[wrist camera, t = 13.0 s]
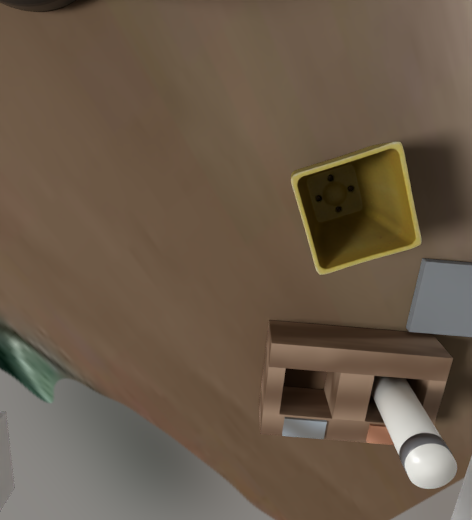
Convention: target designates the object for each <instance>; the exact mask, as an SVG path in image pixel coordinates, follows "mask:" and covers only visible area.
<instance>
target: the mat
mask: <svg viewBox="0 0 472 520" xmlns="http://www.w3.org/2000/svg"><path fill="white" fill-rule="evenodd" d="M406 328H407V329H408V331H409V332H417V333H429V334H441V335H453V336H465V337H472V263H470V262H458V261H447V260H435V259H423V258H422V262H421V267H420V271H419V275H418V279H417V283H416V288H415V292H414V296H413V300H412V304H411V309H410V313H409V317H408V321H407V326H406Z"/></svg>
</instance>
